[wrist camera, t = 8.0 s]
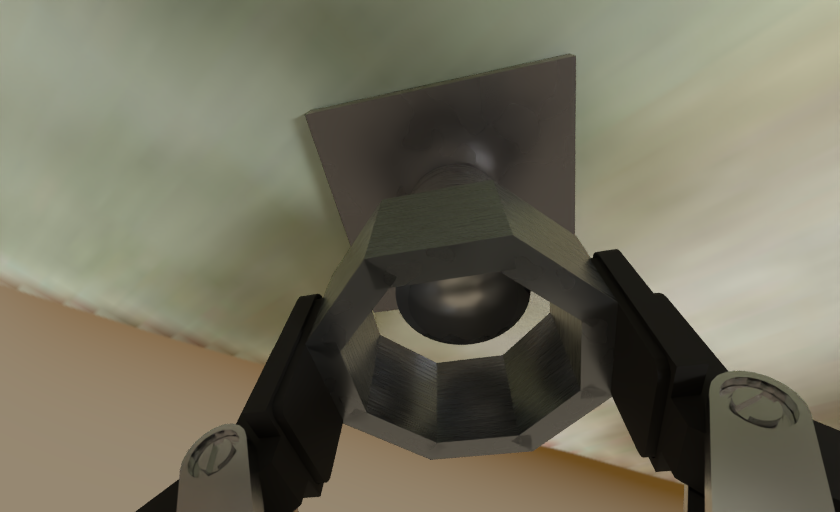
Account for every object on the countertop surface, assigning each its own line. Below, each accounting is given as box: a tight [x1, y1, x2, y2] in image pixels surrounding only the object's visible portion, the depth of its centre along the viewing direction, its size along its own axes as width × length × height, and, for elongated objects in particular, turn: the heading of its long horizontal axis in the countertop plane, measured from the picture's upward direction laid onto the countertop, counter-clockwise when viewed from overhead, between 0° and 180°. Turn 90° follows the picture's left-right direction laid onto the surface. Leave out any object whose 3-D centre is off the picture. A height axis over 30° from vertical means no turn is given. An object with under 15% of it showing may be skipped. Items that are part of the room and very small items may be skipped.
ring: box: [305, 180, 618, 460], centre depth 11 cm, size 7×7×3 cm
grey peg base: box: [305, 54, 576, 345], centre depth 14 cm, size 10×10×7 cm
